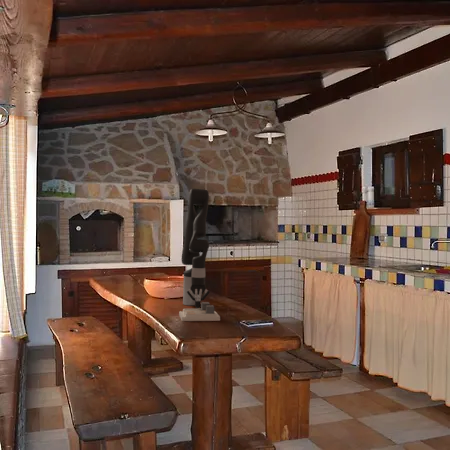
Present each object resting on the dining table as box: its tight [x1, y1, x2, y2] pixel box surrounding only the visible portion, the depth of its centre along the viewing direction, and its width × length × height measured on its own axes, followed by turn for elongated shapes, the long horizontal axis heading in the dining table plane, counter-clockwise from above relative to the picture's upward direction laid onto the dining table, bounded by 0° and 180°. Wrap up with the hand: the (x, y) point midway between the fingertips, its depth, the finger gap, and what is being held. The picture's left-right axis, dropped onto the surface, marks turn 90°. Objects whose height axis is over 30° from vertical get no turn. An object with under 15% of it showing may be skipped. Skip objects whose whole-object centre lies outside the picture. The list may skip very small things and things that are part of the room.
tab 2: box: [206, 304, 215, 314], centre depth 290 cm, size 4×4×5 cm
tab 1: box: [200, 301, 211, 310], centre depth 298 cm, size 4×4×5 cm
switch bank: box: [178, 308, 221, 322], centre depth 293 cm, size 16×20×4 cm
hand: (197, 307), depth 298 cm, fingers closed
